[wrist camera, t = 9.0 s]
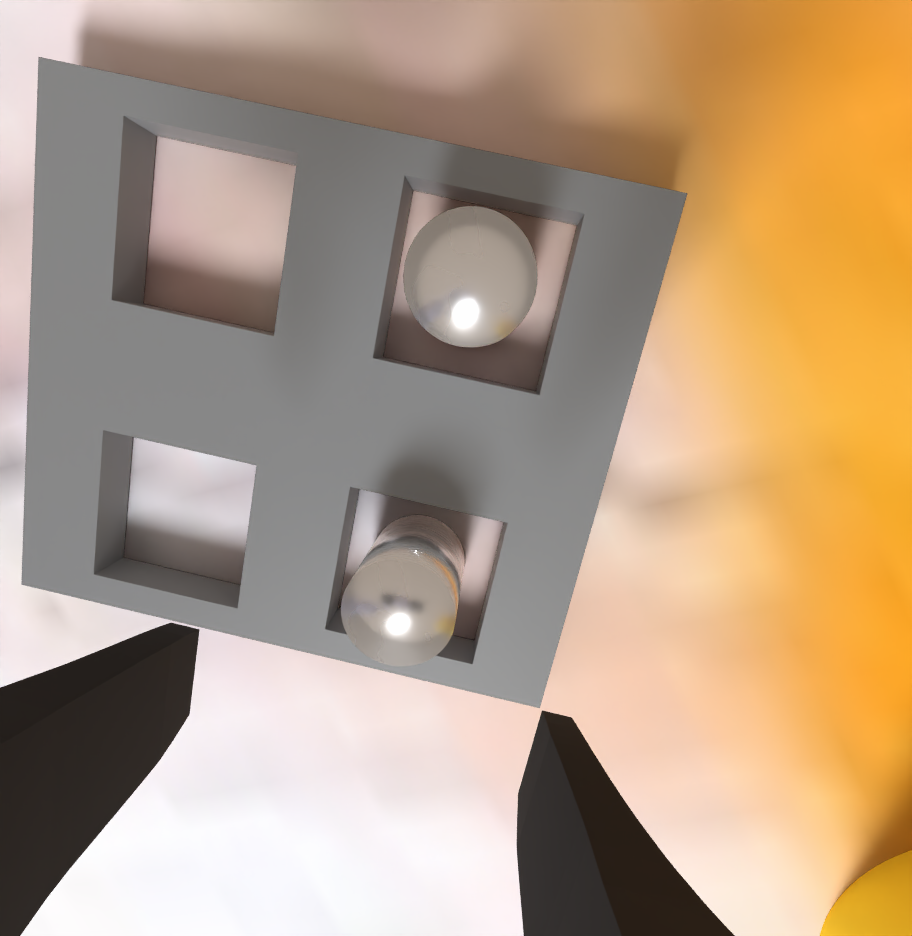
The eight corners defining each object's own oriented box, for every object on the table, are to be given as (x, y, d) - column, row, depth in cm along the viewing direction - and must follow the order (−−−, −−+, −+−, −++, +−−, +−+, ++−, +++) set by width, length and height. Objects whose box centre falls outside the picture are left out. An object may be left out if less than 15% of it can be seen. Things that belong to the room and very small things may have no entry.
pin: (416, 334, 17) (392, 331, 13) (436, 228, 17) (417, 192, 13) (514, 356, 17) (519, 359, 13) (539, 251, 17) (552, 221, 13)
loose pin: (365, 590, 19) (332, 651, 16) (381, 505, 19) (351, 548, 15) (454, 610, 19) (442, 677, 15) (473, 526, 19) (466, 575, 15)
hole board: (55, 566, 20) (21, 584, 19) (79, 82, 16) (38, 56, 15) (536, 681, 20) (539, 708, 18) (669, 207, 16) (687, 193, 15)
